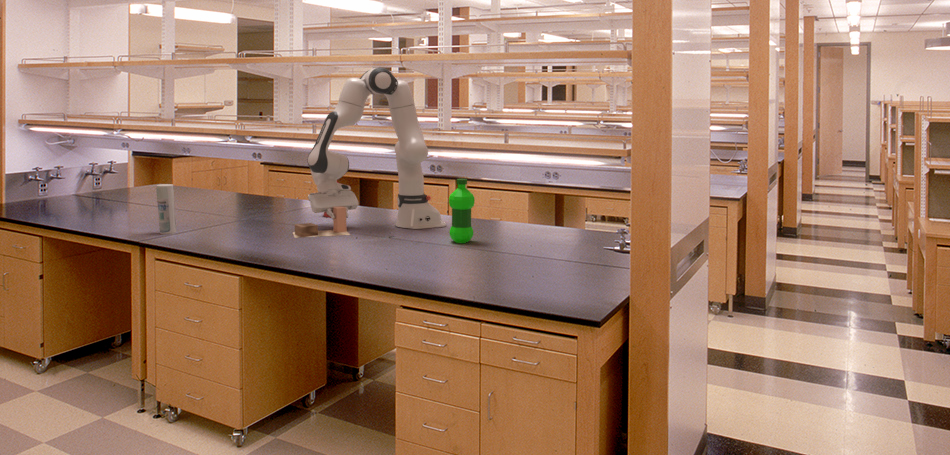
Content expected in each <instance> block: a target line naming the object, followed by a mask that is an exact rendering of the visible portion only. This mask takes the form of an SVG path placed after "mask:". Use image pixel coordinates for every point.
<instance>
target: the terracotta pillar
mask: <svg viewBox="0 0 950 455" xmlns="http://www.w3.org/2000/svg"><path fill="white" fill-rule="evenodd" d="M333 214H335V215H336V219H332V225H333V230H334V231H335V232H346V231H348V230H347V228H348V227H347V218H346V208H345V207H333Z"/></svg>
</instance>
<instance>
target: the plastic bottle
mask: <svg viewBox="0 0 950 455" xmlns="http://www.w3.org/2000/svg"><path fill="white" fill-rule="evenodd" d="M467 184H468V178H457V179H456V185H457V188H456V189H455V190H454V191H453V192H452V193H450V194H449V196H448V205H449V207H450V208H451V226H450V229H449V238H451V240H453V241H454V243H457V244H466V242H467V243H468V242H470V241H471V240H472V238H473V236H474V228H473V227H472V209H473V207H474V206H475V200H476V199H475V195H474V194H473V193H472V192H471V191H470V190H469V189H468V188H467Z"/></svg>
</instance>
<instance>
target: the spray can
mask: <svg viewBox="0 0 950 455" xmlns="http://www.w3.org/2000/svg"><path fill="white" fill-rule="evenodd" d="M155 189H156V202H157V212H158V213H157V214H158V225H159V233H160V234H161V235H172V234H176V233H177V225H176V224H177V222H176V220H177V219H176V206H175V191H174V184H172V183H171V184H170V183H163V184H161V183H160V184H156V186H155Z"/></svg>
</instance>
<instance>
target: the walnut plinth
mask: <svg viewBox="0 0 950 455" xmlns="http://www.w3.org/2000/svg"><path fill="white" fill-rule="evenodd" d="M318 231H319V225H318V224H316V223H313V222H307V223H306V222H305V223H295V224H294V232H295V234H296V235H298V236H301V237H300V238H307V237H306V236H315V235H318Z"/></svg>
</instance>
